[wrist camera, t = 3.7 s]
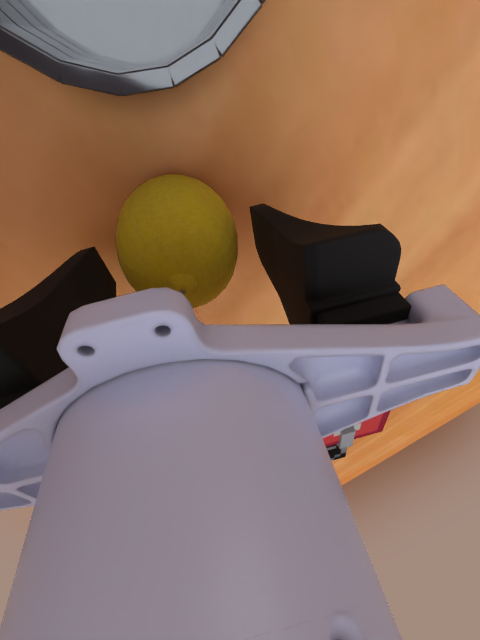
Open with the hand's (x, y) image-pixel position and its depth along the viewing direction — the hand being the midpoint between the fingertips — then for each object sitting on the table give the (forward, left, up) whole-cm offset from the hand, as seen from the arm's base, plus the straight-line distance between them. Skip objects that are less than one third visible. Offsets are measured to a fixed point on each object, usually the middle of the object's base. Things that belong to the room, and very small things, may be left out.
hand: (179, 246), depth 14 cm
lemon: (0, 0, -5) cm, 5 cm away
